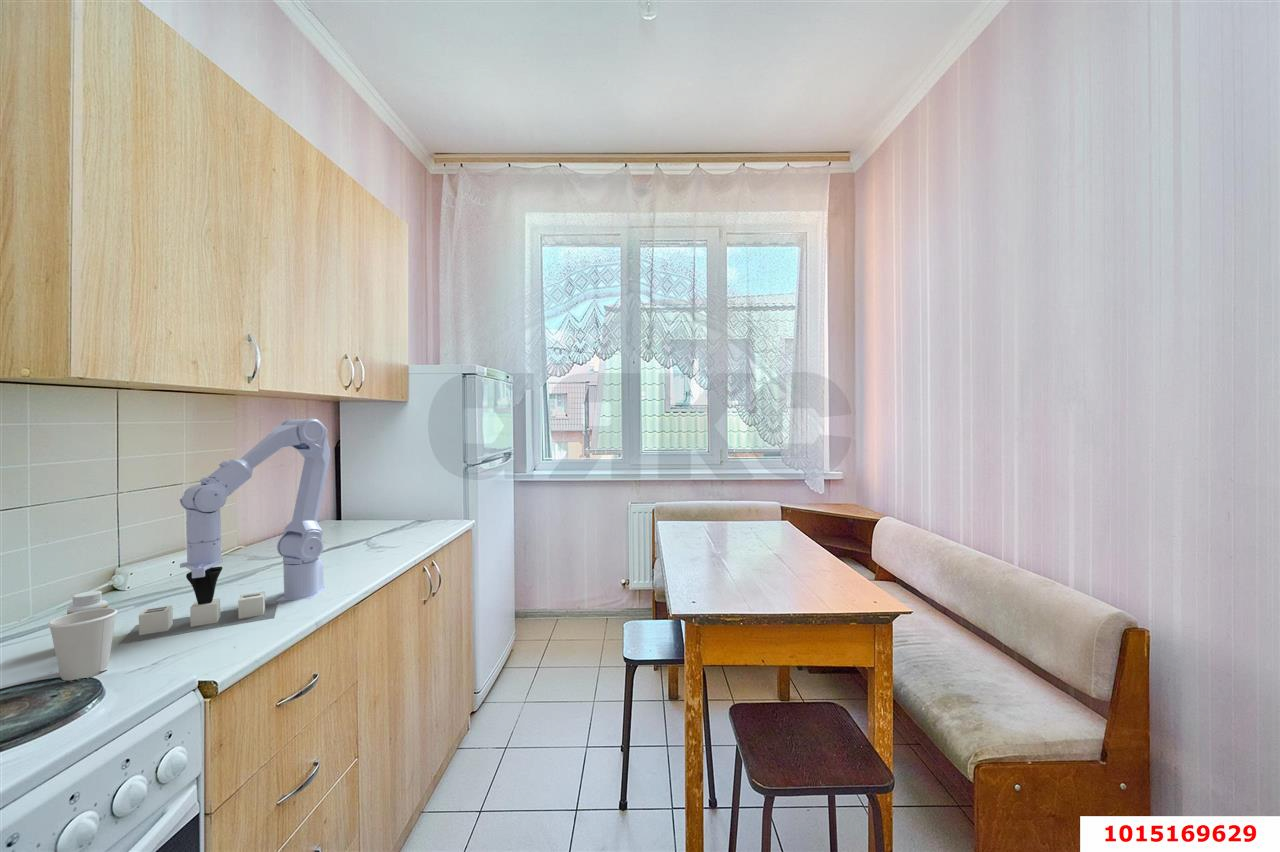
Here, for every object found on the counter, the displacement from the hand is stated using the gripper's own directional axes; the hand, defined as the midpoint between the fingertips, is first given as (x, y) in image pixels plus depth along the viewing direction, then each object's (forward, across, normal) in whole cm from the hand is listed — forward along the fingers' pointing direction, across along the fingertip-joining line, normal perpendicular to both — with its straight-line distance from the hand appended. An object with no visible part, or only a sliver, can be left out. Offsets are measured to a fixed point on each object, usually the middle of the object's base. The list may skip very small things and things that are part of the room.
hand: (205, 603), depth 115 cm
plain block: (+4, 0, 0) cm, 4 cm away
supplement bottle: (+5, +1, -18) cm, 18 cm away
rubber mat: (+4, 0, 0) cm, 4 cm away
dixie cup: (+5, +18, -14) cm, 23 cm away
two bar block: (+4, 0, -8) cm, 9 cm away
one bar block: (+4, 0, +8) cm, 9 cm away
